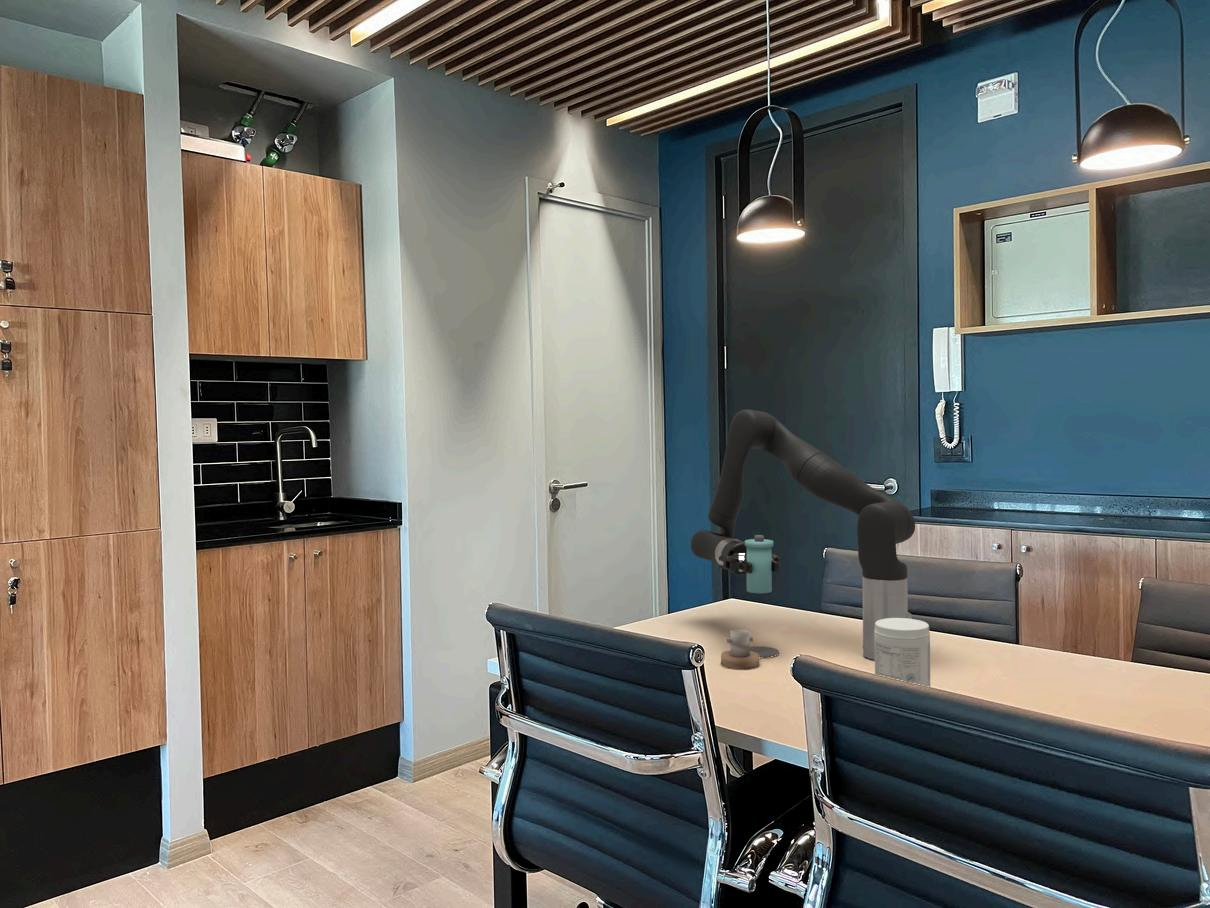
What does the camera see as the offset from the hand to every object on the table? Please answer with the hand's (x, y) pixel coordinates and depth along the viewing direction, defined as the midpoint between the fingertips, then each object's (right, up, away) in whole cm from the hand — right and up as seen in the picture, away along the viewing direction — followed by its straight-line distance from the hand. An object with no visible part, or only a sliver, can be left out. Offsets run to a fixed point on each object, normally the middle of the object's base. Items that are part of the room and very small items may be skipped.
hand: (763, 568), depth 196 cm
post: (-6, -20, -5) cm, 21 cm away
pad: (0, -19, +3) cm, 19 cm away
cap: (-1, -5, +3) cm, 6 cm away
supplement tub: (+19, -20, -34) cm, 44 cm away
